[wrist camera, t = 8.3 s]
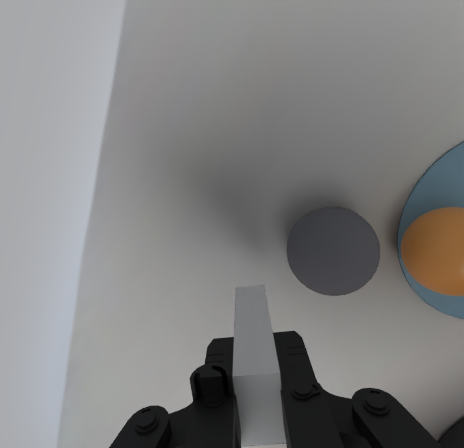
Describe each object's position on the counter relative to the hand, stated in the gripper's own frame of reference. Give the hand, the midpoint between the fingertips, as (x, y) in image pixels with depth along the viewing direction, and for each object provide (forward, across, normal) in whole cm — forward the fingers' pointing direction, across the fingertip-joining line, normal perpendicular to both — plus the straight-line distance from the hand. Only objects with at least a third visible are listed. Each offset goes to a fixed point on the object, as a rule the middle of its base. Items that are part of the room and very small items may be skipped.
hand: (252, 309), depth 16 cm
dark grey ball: (+4, -5, -2) cm, 7 cm away
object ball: (+4, -13, -1) cm, 13 cm away
